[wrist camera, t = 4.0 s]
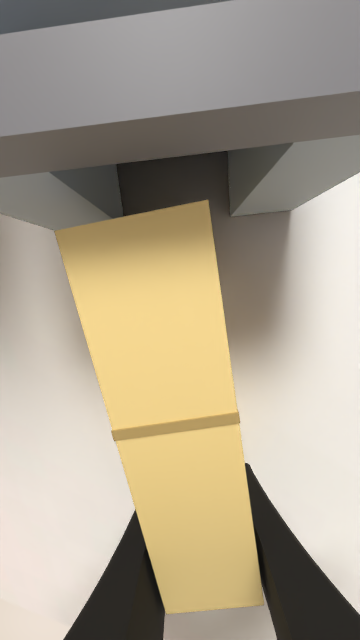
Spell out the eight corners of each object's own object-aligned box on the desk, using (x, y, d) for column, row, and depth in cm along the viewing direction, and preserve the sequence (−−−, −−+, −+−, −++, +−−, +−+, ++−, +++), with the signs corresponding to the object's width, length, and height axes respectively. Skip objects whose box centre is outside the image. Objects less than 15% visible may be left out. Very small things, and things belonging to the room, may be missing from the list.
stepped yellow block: (196, 235, 9) (209, 198, 4) (233, 474, 11) (265, 606, 7) (118, 250, 9) (52, 230, 4) (172, 482, 11) (165, 616, 7)
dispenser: (296, -13, 7) (946, -1653, 1) (292, 209, 8) (547, 67, 2) (25, 26, 7) (-655, -1019, 1) (67, 234, 9) (-174, 159, 3)
